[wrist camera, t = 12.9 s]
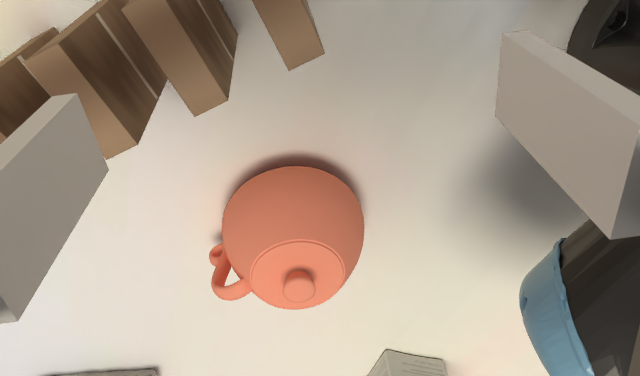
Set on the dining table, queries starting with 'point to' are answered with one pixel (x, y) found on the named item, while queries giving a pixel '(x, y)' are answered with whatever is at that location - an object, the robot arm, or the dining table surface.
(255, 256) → the sugar bowl
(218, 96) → the domino
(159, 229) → the dining table surface
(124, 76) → the domino
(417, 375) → the skincare box
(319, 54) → the domino
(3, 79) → the domino
